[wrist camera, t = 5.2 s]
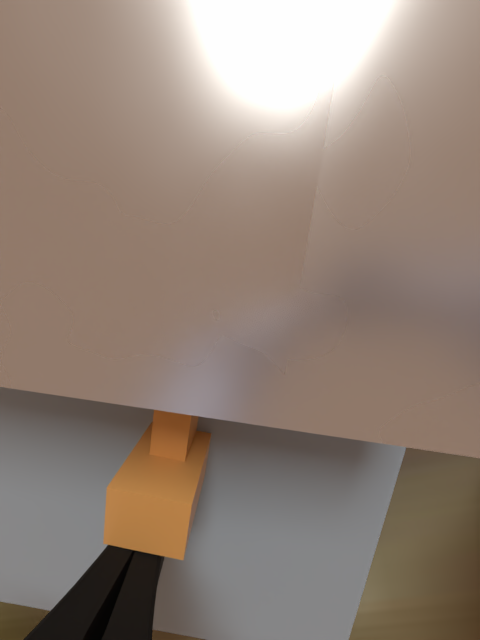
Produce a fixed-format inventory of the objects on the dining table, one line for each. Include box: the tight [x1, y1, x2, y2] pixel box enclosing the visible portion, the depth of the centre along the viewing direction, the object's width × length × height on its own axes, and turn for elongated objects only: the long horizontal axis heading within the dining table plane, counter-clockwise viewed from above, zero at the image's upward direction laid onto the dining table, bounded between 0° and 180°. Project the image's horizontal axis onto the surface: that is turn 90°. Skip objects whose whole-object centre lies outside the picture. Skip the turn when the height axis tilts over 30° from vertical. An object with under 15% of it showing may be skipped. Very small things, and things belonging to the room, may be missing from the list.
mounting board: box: [0, 387, 406, 640], centre depth 8 cm, size 39×18×1 cm, turn 173°
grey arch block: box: [0, 0, 480, 458], centre depth 5 cm, size 6×16×6 cm, turn 83°
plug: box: [103, 410, 211, 560], centre depth 7 cm, size 13×4×4 cm, turn 171°
